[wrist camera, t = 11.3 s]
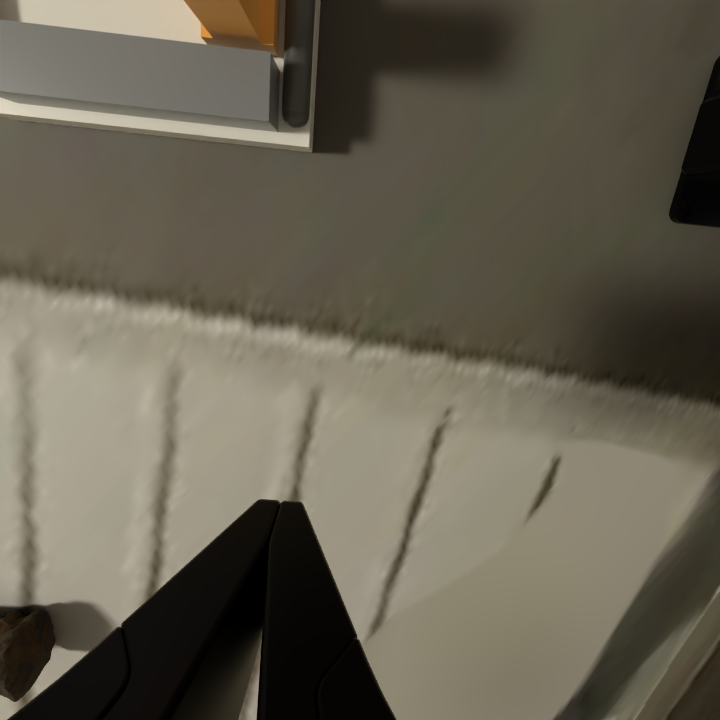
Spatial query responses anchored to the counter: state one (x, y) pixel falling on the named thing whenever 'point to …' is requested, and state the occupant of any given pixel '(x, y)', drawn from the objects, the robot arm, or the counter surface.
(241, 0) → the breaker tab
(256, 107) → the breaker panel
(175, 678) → the robot arm
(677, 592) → the counter surface
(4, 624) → the dark brown rod
